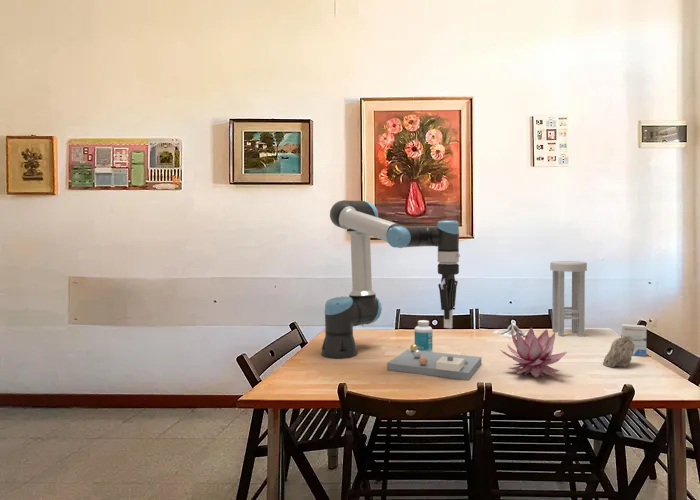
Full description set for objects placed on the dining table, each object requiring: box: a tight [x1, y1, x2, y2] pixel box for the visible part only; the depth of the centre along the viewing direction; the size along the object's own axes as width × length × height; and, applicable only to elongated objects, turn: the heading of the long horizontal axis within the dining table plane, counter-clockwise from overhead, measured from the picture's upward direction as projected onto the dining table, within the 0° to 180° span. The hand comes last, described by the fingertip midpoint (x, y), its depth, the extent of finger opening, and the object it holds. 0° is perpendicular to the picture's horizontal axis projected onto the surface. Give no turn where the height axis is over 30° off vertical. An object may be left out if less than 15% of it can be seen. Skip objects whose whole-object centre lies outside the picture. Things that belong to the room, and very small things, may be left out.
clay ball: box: [419, 356, 428, 365], centre depth 171 cm, size 3×3×3 cm
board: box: [386, 348, 482, 381], centre depth 178 cm, size 30×22×2 cm
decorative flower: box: [500, 327, 568, 378], centre depth 167 cm, size 21×21×15 cm
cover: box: [436, 356, 464, 372], centre depth 167 cm, size 8×8×4 cm
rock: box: [602, 336, 635, 368], centre depth 176 cm, size 14×10×8 cm
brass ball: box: [409, 343, 418, 352], centre depth 190 cm, size 3×3×3 cm
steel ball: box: [413, 350, 422, 358], centre depth 181 cm, size 3×3×3 cm
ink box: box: [620, 323, 648, 357], centre depth 191 cm, size 8×5×12 cm, turn 65°
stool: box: [549, 260, 588, 338], centre depth 228 cm, size 16×16×35 cm
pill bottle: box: [414, 319, 433, 352], centre depth 197 cm, size 8×7×14 cm
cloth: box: [493, 322, 537, 339], centre depth 231 cm, size 22×19×6 cm
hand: (448, 327), depth 172 cm, fingers closed
